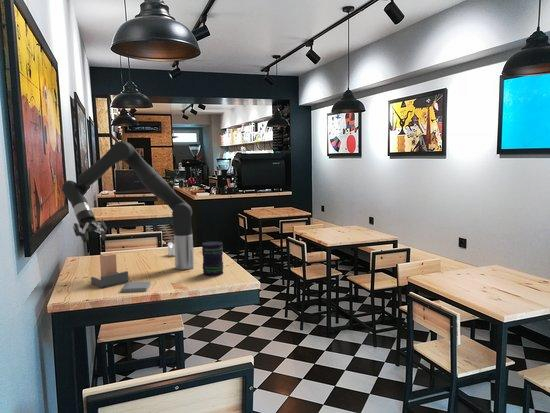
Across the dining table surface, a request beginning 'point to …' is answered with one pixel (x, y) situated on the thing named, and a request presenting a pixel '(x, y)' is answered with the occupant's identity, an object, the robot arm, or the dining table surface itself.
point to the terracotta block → (108, 264)
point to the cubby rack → (110, 280)
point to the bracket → (171, 249)
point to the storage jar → (212, 258)
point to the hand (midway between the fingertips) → (95, 240)
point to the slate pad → (136, 286)
